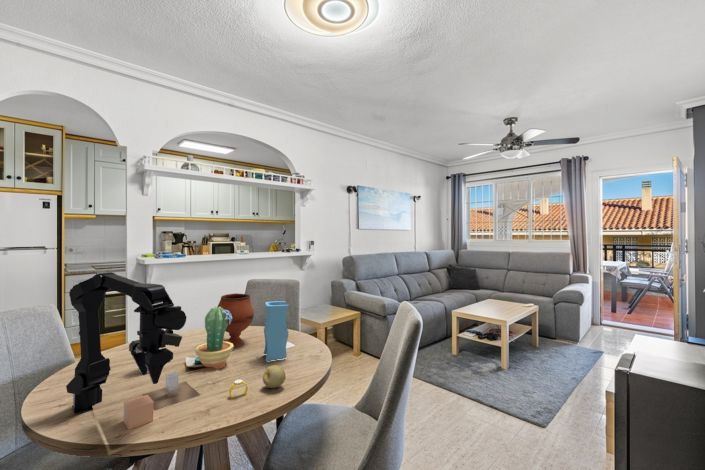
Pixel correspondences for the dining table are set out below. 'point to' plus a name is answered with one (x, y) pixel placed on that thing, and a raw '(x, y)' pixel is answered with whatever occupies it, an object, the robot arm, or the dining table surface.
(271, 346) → the vase
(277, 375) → the fruit
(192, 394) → the board
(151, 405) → the salmon pink rectangular prism
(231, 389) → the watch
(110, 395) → the dining table surface
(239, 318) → the brown clay urn
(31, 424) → the dining table surface
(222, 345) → the potted cactus
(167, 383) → the post
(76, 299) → the robot arm
